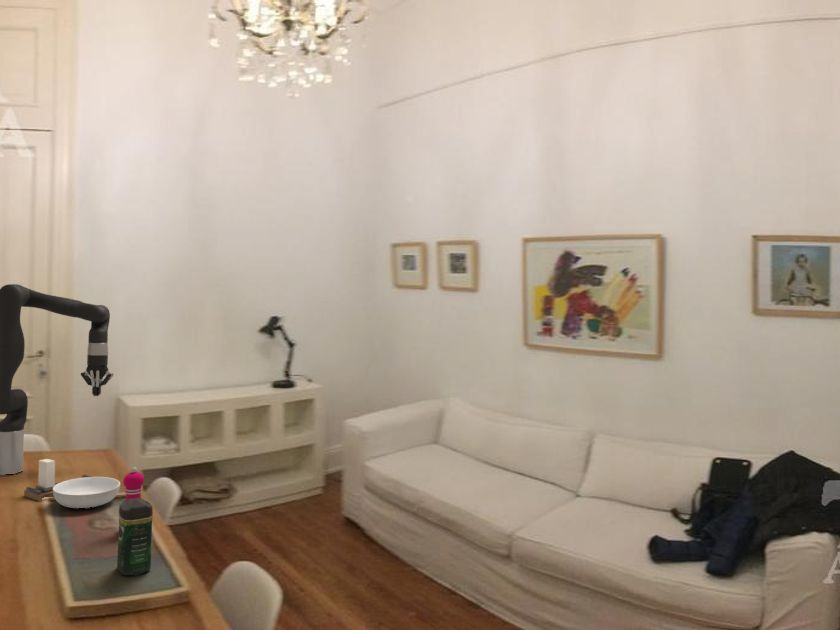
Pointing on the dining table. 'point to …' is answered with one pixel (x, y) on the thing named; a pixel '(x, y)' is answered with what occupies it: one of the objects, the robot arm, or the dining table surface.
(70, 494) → the serving bowl
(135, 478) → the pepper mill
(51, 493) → the brown flat rectangular board
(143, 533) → the green labelled bottle
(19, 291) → the robot arm
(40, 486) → the block
